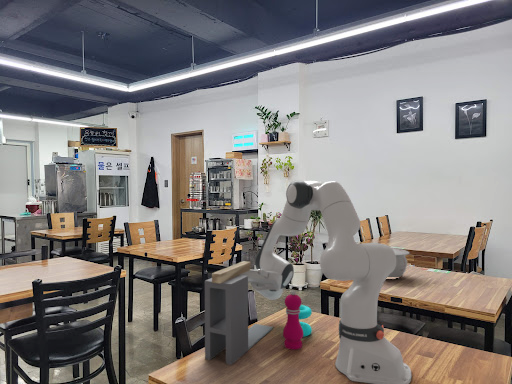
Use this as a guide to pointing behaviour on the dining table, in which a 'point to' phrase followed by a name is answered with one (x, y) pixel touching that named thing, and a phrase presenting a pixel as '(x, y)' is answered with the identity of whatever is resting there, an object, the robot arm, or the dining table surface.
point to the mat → (257, 333)
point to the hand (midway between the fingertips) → (248, 270)
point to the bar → (230, 272)
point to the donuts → (304, 314)
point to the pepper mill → (293, 322)
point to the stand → (226, 318)
